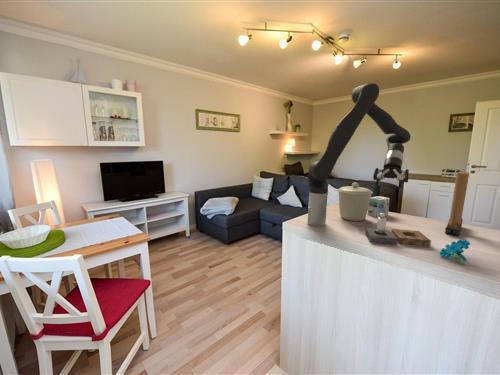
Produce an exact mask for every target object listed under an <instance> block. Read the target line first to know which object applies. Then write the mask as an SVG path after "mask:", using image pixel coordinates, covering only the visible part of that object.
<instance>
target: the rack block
mask: <svg viewBox="0 0 500 375" xmlns="http://www.w3.org/2000/svg"><path fill="white" fill-rule="evenodd" d="M390 231H391V232H392V233H393V234H394V236H395V237H396V238H397V243H398V245H401V246H402V245H404V246H410V247H411V246H413V247H422V248H431V243H432V240H431V239H430V238H428V237H427V236H426V235H424V234H423V233H422V232H421V231H419V230H410V229H400V228H399V229H397V228H391V230H390Z"/></svg>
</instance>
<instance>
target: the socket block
mask: <svg viewBox="0 0 500 375" xmlns="http://www.w3.org/2000/svg"><path fill="white" fill-rule="evenodd" d="M376 231H377V228H367V227H365V231H364V232H365V233H364V235H365V236H366V238H367V240H368V242H369V243H370V244H380V245H390V246H397V243H398V242H397V238H396V237H395V236H394V234H393V233H392V232H391V230H390V229H389V230H388V229H385V235H378V234H376Z"/></svg>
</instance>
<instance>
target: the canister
mask: <svg viewBox="0 0 500 375" xmlns="http://www.w3.org/2000/svg"><path fill="white" fill-rule="evenodd" d="M337 192H338V208H339V215H340V217H341V218H342V219H344V220H346V221H352V222H362V221H363V220H365V219H366V217H367V215H368V207H369V202H370V198H371V197H372V195H373V193H374V192H373V191H372V190H370V189H369V188H366V187H362V186H360V185H359V183H358V182H352V183H351V186H350V185H349V186H341V187H339V188H337Z"/></svg>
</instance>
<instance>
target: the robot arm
mask: <svg viewBox="0 0 500 375" xmlns="http://www.w3.org/2000/svg"><path fill="white" fill-rule="evenodd" d="M379 94H380V87H379V85H378V84H377V83H373V82H372V83H371V82H370V83H365V84H362V85H359V86H356V87H355V88H353V90H352V92H351V100H352V102H353V103H354V106H353V107H352V108H351V109H350V111H349V112H348V113H346V115H344V117H342V119H341V120H339V122H338V123H337V124H336V126H335V127H334V129H333V131H332V132H331V133H330V137H329V140H328V143H327V146H326V150H325V151H324V153H323V155H322V156H321V158H320V159H319V161H318V160H317V161H314V162H312V163H311V164H310V165H309V169H308V190H309V193H308V207H307V208H308V209H307V225H310V226H314V227H324V226H326V222H327V204H328V193H329V192H328V191H329V188H328V186H327V179H328V178H329V177H330V175H331V174H332V172H333V169H334V167H335V165H336V163H337V161H338V160H339V158H340V156H341V154H342V153H343V151H344V150H345V148H346V147H347V146H348V144H349V142H350V141H351V140H352V137H354V134H355V132H356V131H357V129H358V127H359V125H360V124H361V122H362V121H363V119H364V118H365V116H366V115H367V116H368V117H369V118H370V119H372V121H374V123H376V125H377V126H378V128H379V129H380V130H381V131H382V133H383V134H384V135H387V137H386V144H387V152H386V155H385V159H384V162H383V167H382V169H379V168H378V167H376V168H375V170H374V172H373V176H372V180H373V181H376V182H375V187H376V188H379V187H380V184H381V181H382V180H385V179H395V180H397V181H398V187H397V188H398V190H401V189H402V188H403V184H404V183H409V173H410V172H409V169H405V170H403V169H402V166H403V162H404V151H405V147H404V144H406V143H408V142H409V141H410V140H411V137H412V136H411V133H410V132H409V131H408V130H407V129H406V128H404V127H403V126H401V125H400V124H398V123H397V121H396V120H395V119H394V118H393V116H392V115H391V114H390V113H389V112H387V111H386V110H384V109H383V108H381V107H380V106H378V105H377V104H376V103H375V102H376V101H377V100H378V97H379V96H380V95H379ZM402 174H403V176H404V177H402V176H401V175H402Z"/></svg>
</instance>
